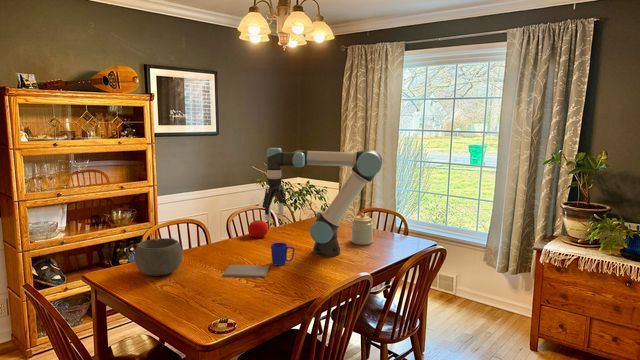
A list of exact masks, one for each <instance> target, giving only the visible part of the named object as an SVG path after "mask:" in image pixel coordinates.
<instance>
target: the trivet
mask: <svg viewBox="0 0 640 360" xmlns="http://www.w3.org/2000/svg"><path fill="white" fill-rule="evenodd" d="M269 269H270V265H260V264H259V265H254V264H250V265H249V264H229V265H228V266H227V268H226V269H225V271H224V272H223V273H222V276H221V277H223V278H266V277H267V274H268V271H269Z"/></svg>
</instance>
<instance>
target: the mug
mask: <svg viewBox="0 0 640 360" xmlns="http://www.w3.org/2000/svg"><path fill="white" fill-rule="evenodd" d="M270 249H271V262H272V264H273V265H274V266H283V265H285V264H286V263H287V262H289V263H290V262H292V261H293V259H294V255H295V247H293V246H288V244H287V243H286V242H274V243H271V244H270ZM288 249H291V250H292V255H291V258H290V259H288Z"/></svg>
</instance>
